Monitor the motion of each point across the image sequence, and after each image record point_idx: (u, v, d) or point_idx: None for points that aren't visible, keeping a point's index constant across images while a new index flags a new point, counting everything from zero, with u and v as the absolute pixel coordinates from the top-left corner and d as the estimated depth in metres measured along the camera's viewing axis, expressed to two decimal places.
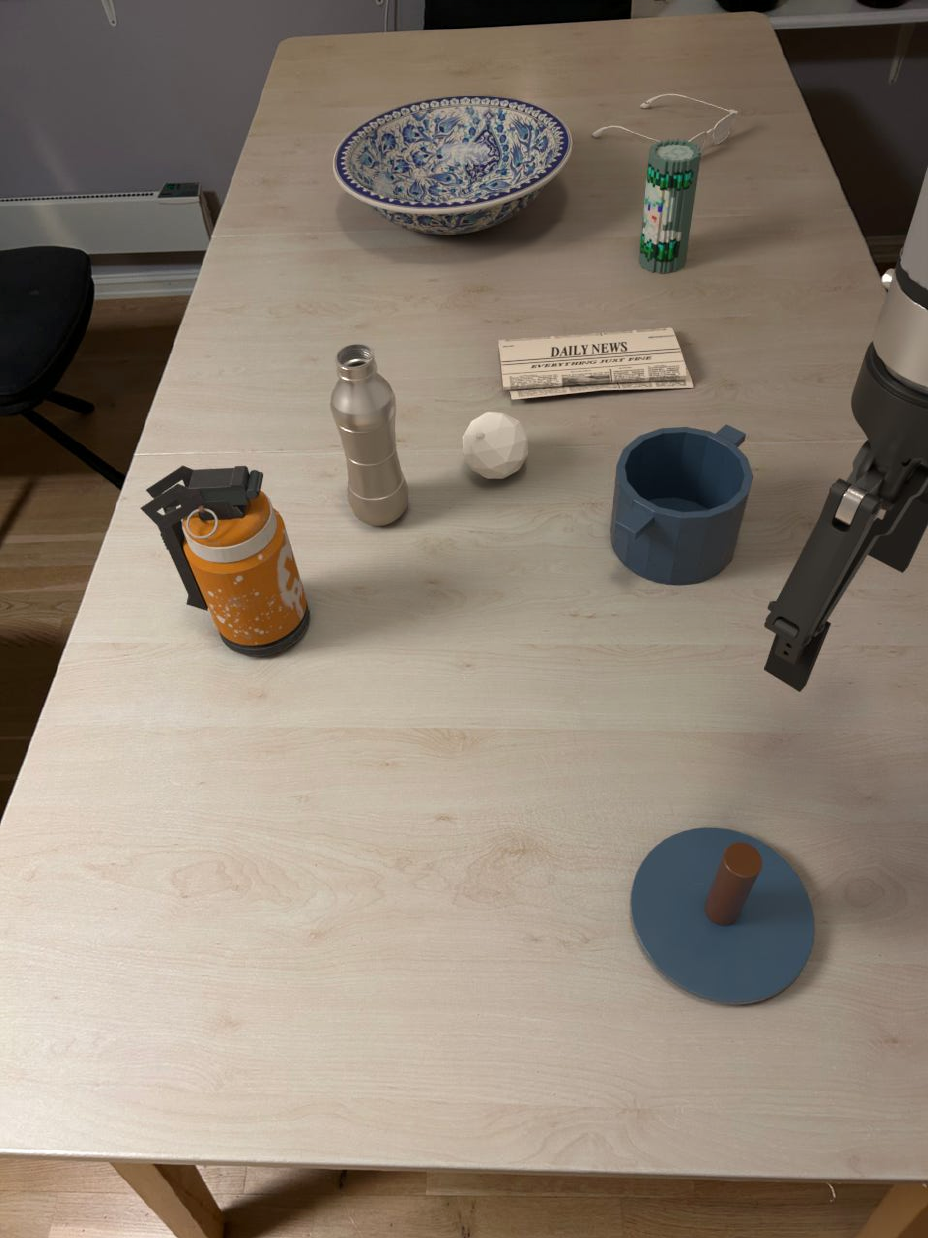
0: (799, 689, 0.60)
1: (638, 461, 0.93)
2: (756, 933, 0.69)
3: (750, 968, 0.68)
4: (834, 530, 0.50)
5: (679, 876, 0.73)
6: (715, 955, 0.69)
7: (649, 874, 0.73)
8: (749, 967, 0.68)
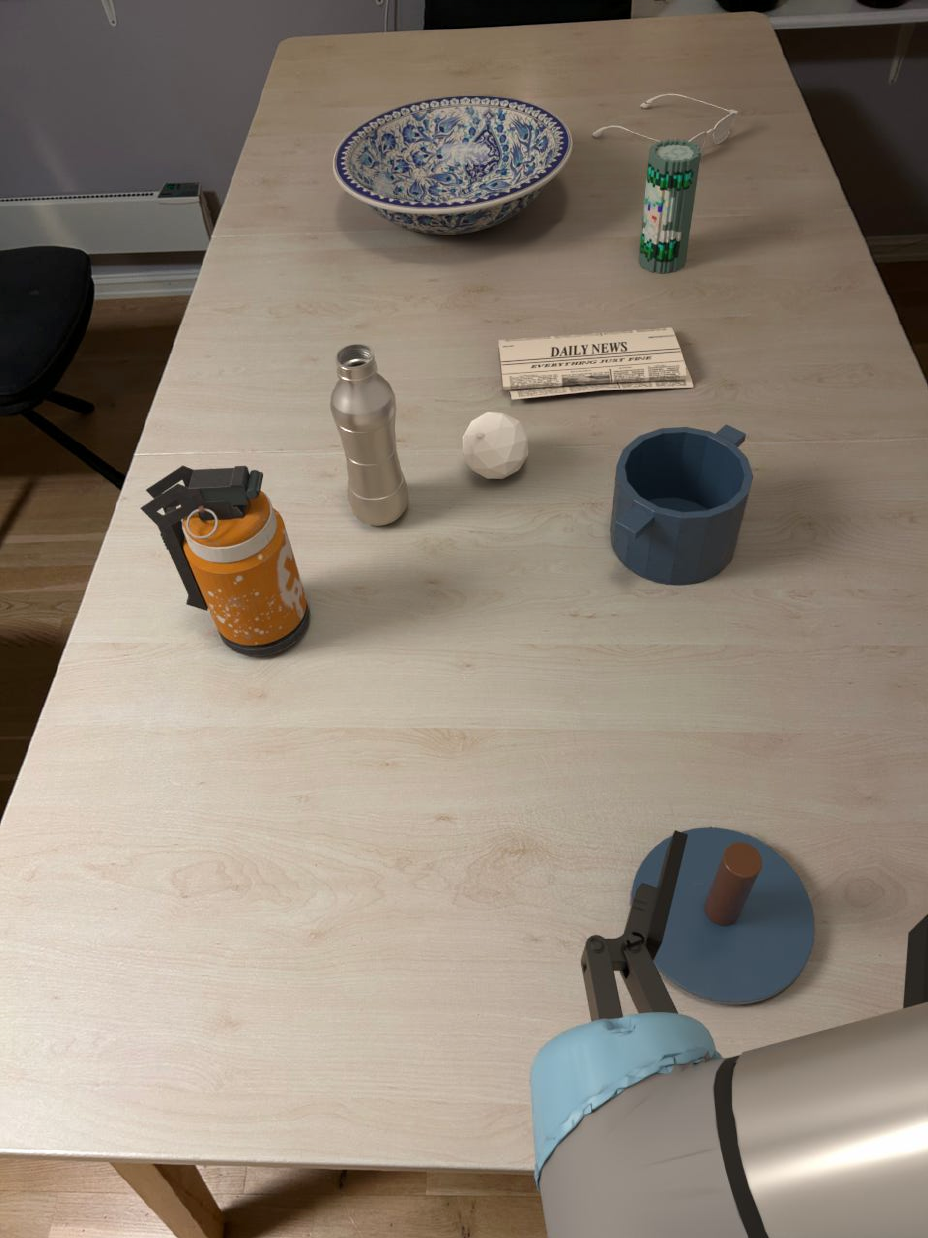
0: None
1: (638, 461, 0.93)
2: (756, 933, 0.69)
3: (750, 968, 0.68)
4: None
5: (679, 876, 0.73)
6: (715, 955, 0.69)
7: (649, 874, 0.73)
8: (749, 967, 0.68)
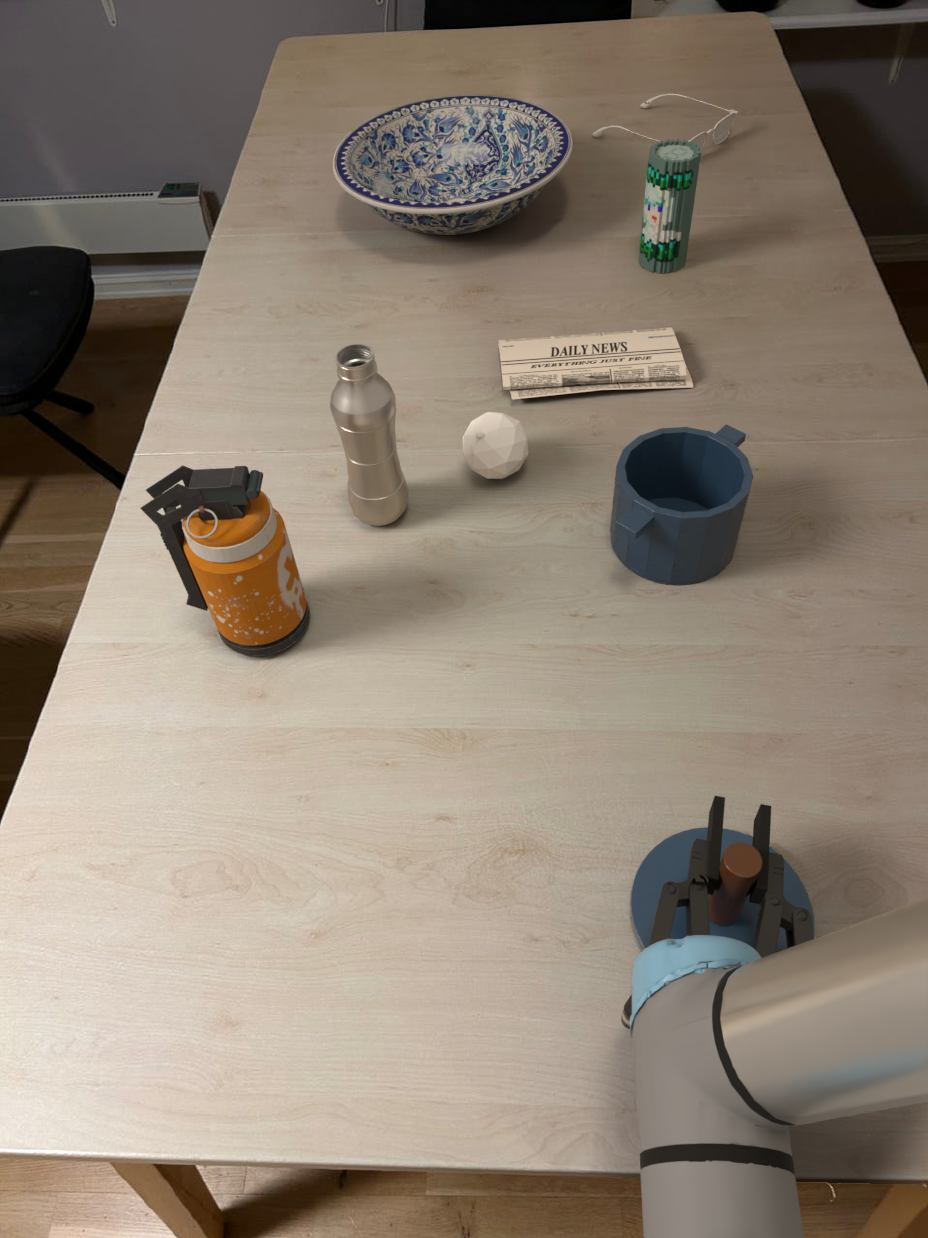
0: (770, 809, 0.68)
1: (638, 461, 0.93)
2: None
3: None
4: None
5: (679, 876, 0.73)
6: None
7: (649, 874, 0.73)
8: None
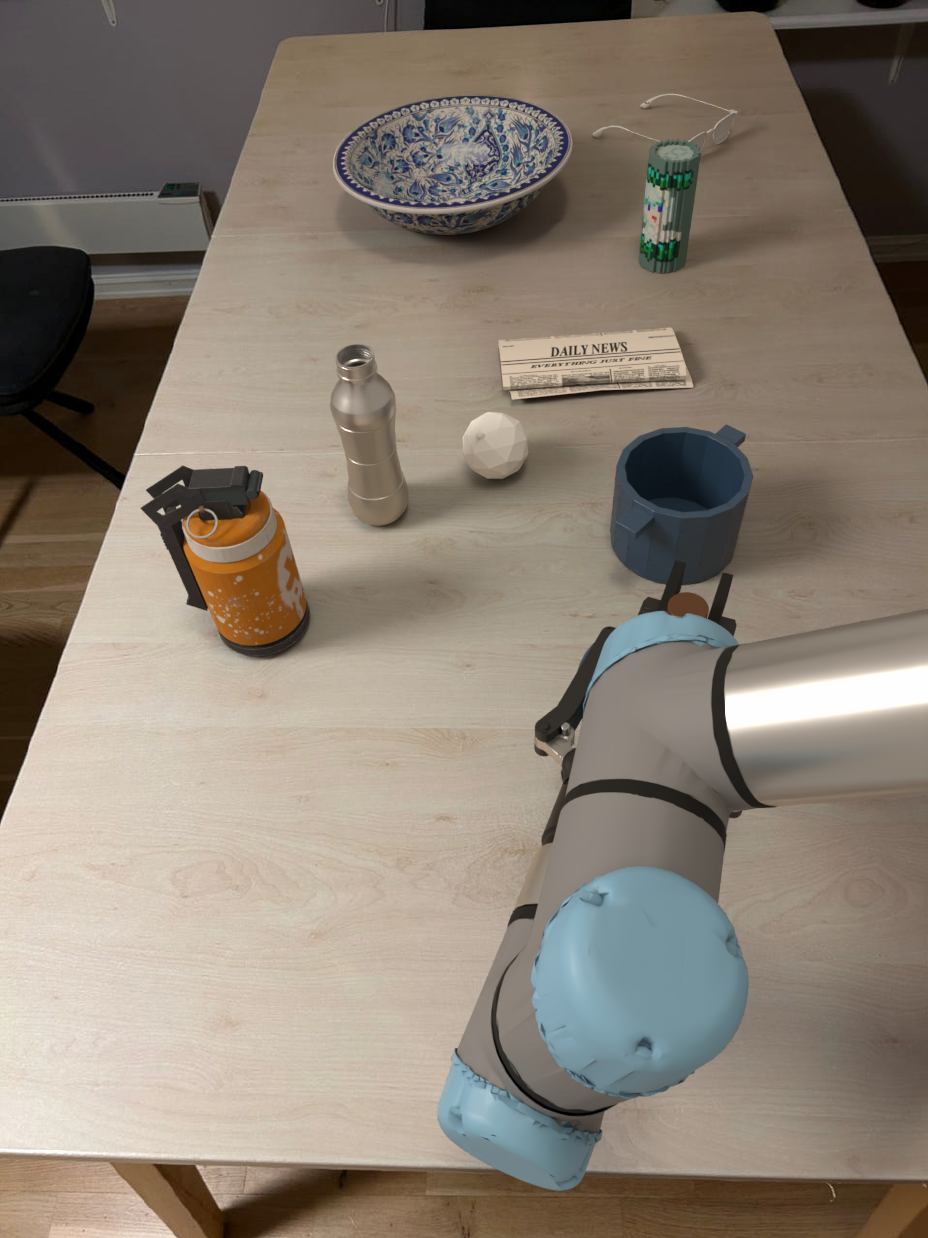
0: (732, 578, 0.64)
1: (638, 461, 0.93)
2: None
3: None
4: None
5: None
6: None
7: None
8: None
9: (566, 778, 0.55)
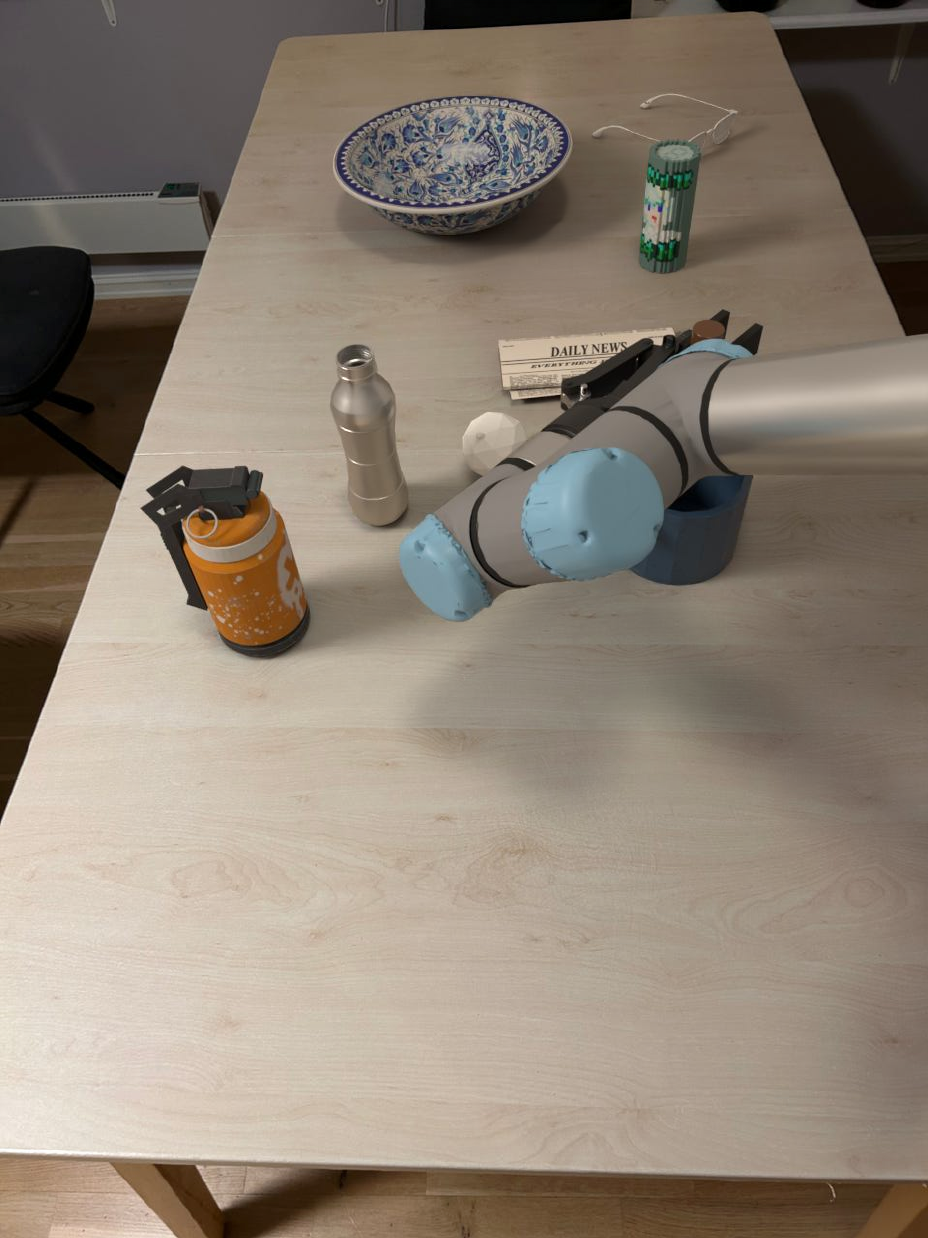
0: (761, 328, 0.80)
1: None
2: None
3: None
4: None
5: None
6: None
7: None
8: None
9: None
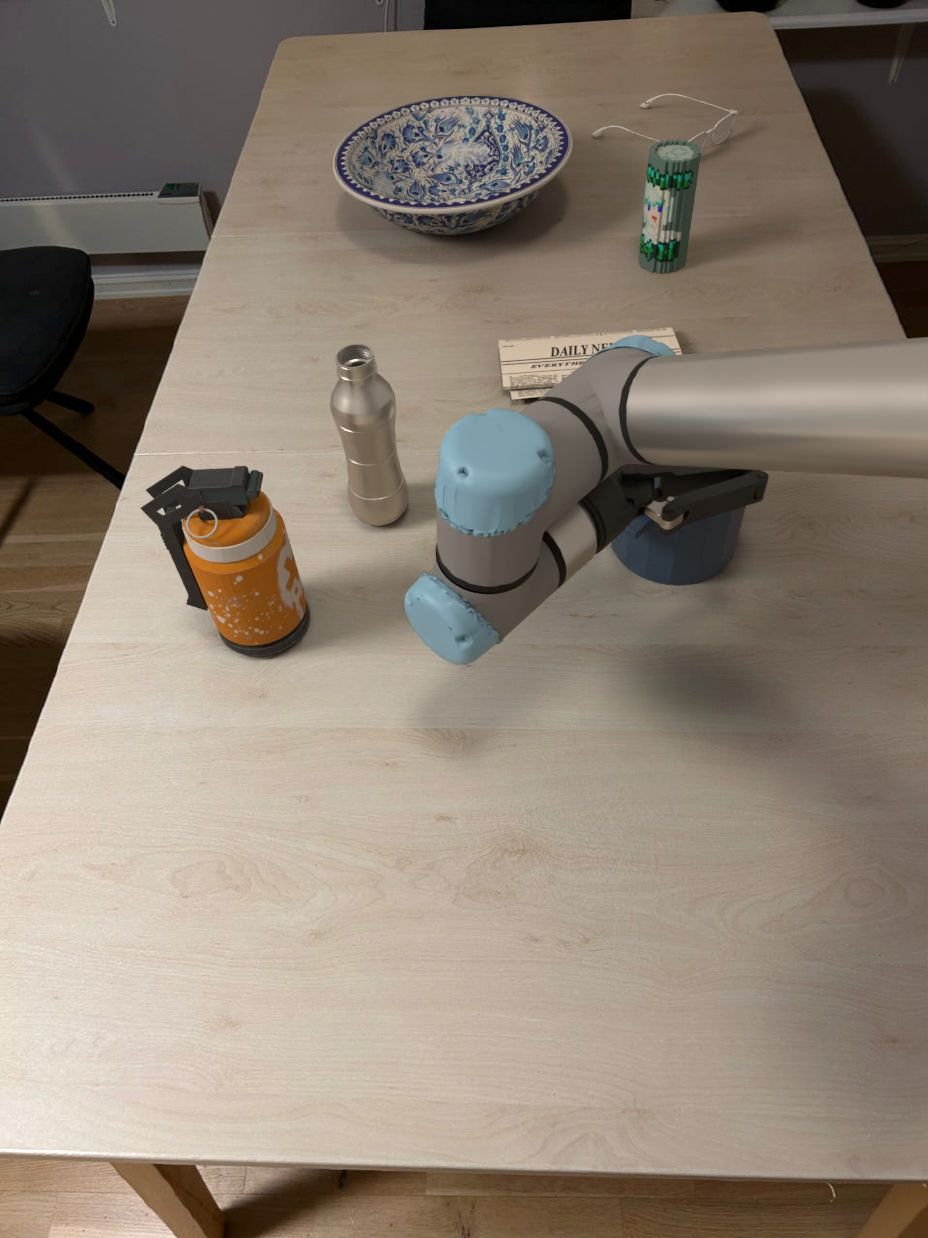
0: None
1: None
2: None
3: None
4: (690, 514, 0.76)
5: None
6: None
7: None
8: None
9: None
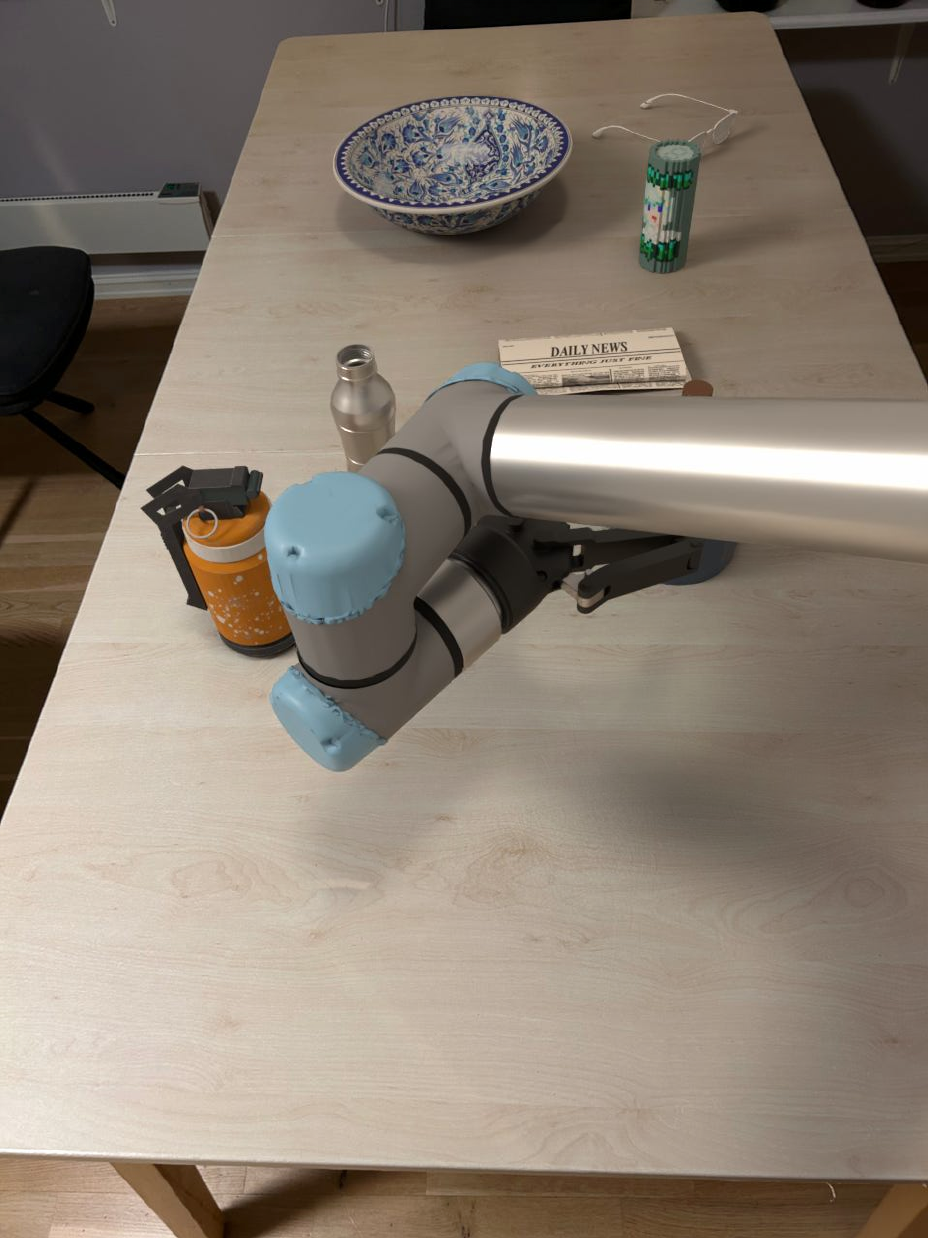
0: None
1: None
2: None
3: None
4: (612, 589, 0.65)
5: None
6: None
7: None
8: None
9: None
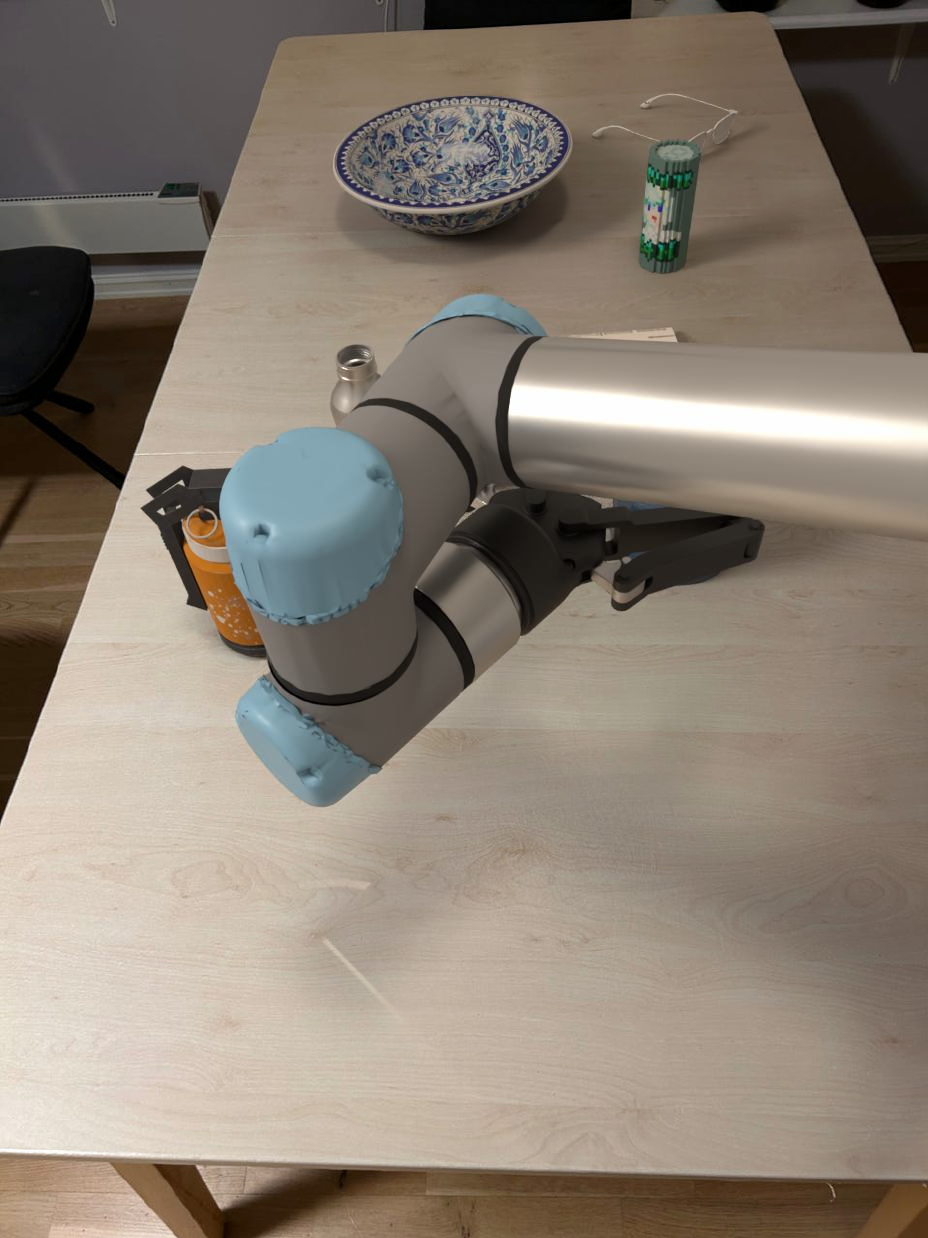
0: None
1: None
2: None
3: None
4: (654, 581, 0.54)
5: None
6: None
7: None
8: None
9: None
